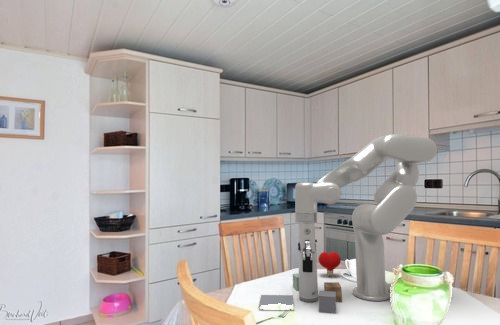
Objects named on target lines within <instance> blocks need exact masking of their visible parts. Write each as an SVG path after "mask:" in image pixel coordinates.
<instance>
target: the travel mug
mask: <svg viewBox="0 0 500 325" xmlns="http://www.w3.org/2000/svg"><path fill="white" fill-rule="evenodd" d="M317 243H318V241H317V239H315V248H316V249H317V245H316V244H317ZM305 245H306V243H305ZM297 249H298V250H297V258H298V259H297V260H298V261H297V263H298V273H299V291H298V294H299V296H298V298H299V300H300V301H302V302H305V303H314V302H317V301H319V287H318V284H319V283H318V262H317V261H318V260H317V255H318V254H317V251H316V252H315V253H313V252H312V260H313V272H303V253H302V252H301V249H300V243H299V242H298V243H297ZM311 251H312V250H311Z"/></svg>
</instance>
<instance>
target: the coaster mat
mask: <svg viewBox="0 0 500 325" xmlns="http://www.w3.org/2000/svg"><path fill="white" fill-rule="evenodd" d="M259 298H260V299H259V304H258V307H259V306H261V305H268V304H278V303H281V304H286V305H292V304H294V302H295V301H294V295H291V294H261V295H260V297H259ZM294 305H295V304H294Z"/></svg>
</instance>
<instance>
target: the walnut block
mask: <svg viewBox="0 0 500 325" xmlns="http://www.w3.org/2000/svg"><path fill="white" fill-rule="evenodd" d="M323 286H324V288H323V291H333V292H336V303H343V297H342V296H343V295H342V294H343V293H342V286H341V284H340V282H330V281H329V282H325V281H324V283H323Z"/></svg>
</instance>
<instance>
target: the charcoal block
mask: <svg viewBox="0 0 500 325" xmlns="http://www.w3.org/2000/svg"><path fill="white" fill-rule="evenodd" d="M318 312H319V313H323V314H335V315H336V314H337V302H336V292H333V291H324V290H318Z"/></svg>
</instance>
